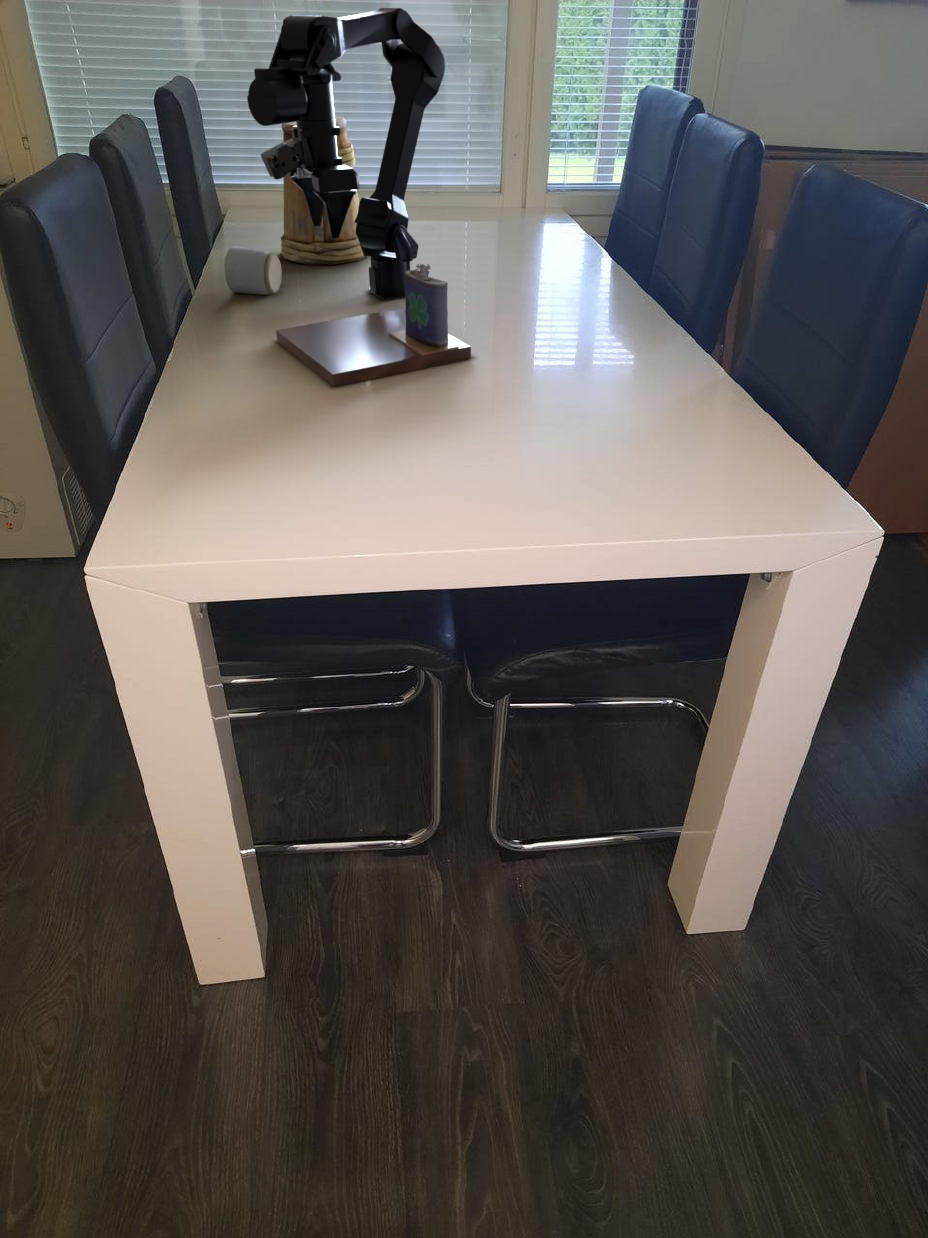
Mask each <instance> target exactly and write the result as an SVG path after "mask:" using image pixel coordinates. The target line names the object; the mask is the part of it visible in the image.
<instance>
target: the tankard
mask: <svg viewBox="0 0 928 1238" xmlns="http://www.w3.org/2000/svg"><path fill="white" fill-rule="evenodd" d="M334 116H335V126H337V127H340V135H336V141H337V153H338V157H340V158H342V165H346V166H348V167H350V168H352V169H353V170H354V171H355V169H354V166H355V165H356V158H355V151H354V146H353V144H352V142H351V141H350V140H349V136H348V131H347V126H348V122H347V120H346V119H345V118H344V117H343V116H341V115H339V114H336V113H334ZM293 126H297V125H296V122H290V123H283V124H281V130H282V133H283V135H282V137H283V139H282V140H283V141H282V142H285V141H287V140H289V139H291V138H292V129H293ZM289 177H293V176H289V175H287V174H286V175H285V177H283V233H282V234H281V236H280V242H281V244H280V246H281V249H280V251H281V256H282V257H283V258H284V259H286V260H288V261H291V262H293V263H297V264H302V265H311V266H316V265H330V266H331V265H341V264H347V263H352V262H356V261H359V260H361V259H364V258H365V257H366V256H364V255H363V252H362V249H361V246H360V243H359V240H358V237H357V236H356V224H357V223H355V222H354V221H355V219H356V217H357V214H358V209H359V202H360V199H359V194H358V189H357V190H356V194H355V195H354V196H353V199H352V201H351V204H350V206H349V209H348V212H347V215H346V217H345V220H344V223H343V226H342V229H341V232H340V235H339V237H338V238H332V237H331V234H330V230H329V226H328V221H327V217H326V212H325V208H324V210H323V216H322V221H321V225H320V226H316V227H315V226H314V225H313V223H312V220H311V217H310V214H309V211H308V208H307V205H306V202H305V199H304V197H303V194H302V191H301V189H300V188H299V187H298V186H297V185H296V184H295V183H293V182H292V181H291V180H290V179H289Z"/></svg>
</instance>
